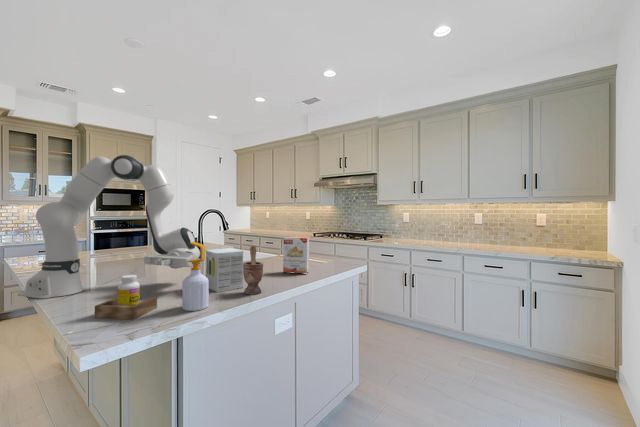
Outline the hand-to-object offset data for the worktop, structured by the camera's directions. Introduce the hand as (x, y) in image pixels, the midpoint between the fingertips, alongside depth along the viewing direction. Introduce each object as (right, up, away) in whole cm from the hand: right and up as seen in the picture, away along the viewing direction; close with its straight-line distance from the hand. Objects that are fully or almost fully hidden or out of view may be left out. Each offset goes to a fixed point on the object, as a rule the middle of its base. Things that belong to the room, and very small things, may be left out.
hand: (158, 263), depth 129 cm
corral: (-1, -14, -18) cm, 23 cm away
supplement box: (+22, -14, +18) cm, 32 cm away
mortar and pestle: (+36, -15, +10) cm, 41 cm away
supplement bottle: (-1, -15, -18) cm, 23 cm away
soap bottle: (+20, -15, -12) cm, 28 cm away
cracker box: (+53, -14, +51) cm, 75 cm away
